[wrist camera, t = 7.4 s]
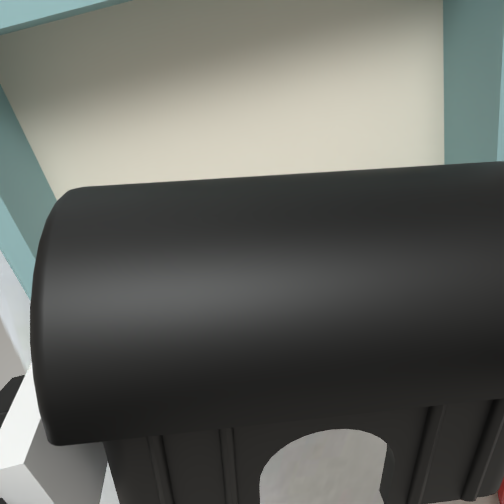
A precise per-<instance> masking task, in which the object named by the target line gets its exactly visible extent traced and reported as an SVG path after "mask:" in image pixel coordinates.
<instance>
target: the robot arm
mask: <svg viewBox="0 0 504 504" xmlns="http://www.w3.org/2000/svg"><path fill="white" fill-rule="evenodd" d="M107 462H108V460H107V456H106V453H105V449H104V446H103V442H94V443H85V444H76V445H67V446H55V445H52V444H50V443H49V442H48V440H47V437H46V434H45V430H44V427H43V423H42V420H41V416H40V413H39V409H38V403H37V397H36V391H35V386H34V380H33V370H32V362H31V364H30V366H29V368H28V371H27V373H26V375H22V376H19V377H14V378H12V379H11V380H10V381H9V382H8V383H7V384H6V385H5V386H4V388H3V389H2V390H1V391H0V504H99V503H100V498H101V492H102V487H103V482H104V477H105V472H106V467H107Z"/></svg>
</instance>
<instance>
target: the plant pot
mask: <svg viewBox="0 0 504 504" xmlns="http://www.w3.org/2000/svg"><path fill="white" fill-rule="evenodd" d="M498 497H499V501H500V504H504V478H503V481H502V483H501V486H500V488H499V490H498Z"/></svg>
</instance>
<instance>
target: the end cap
mask: <svg viewBox="0 0 504 504" xmlns="http://www.w3.org/2000/svg"><path fill="white" fill-rule="evenodd" d="M30 346H31V358H32V370H33V380H34V386H35V391H36V397H37V403H38V409H39V413H40V416H41V420H42V423H43V427H44V430H45V434H46V437H47V440H48V442H49V443H50V444H52V445H55V446H67V445H76V444H85V443H94V442H103V446H104V449H105V453H106V456H107V460H108V463H109V467H110V470H111V474H112V477H113V481H114V484H115V488H116V492H117V495H118V499H119V502H120V504H260V494H259V482H260V475H261V473H262V471H263V468H264V466H265V465H266V464H267V462H268V461H269V459H270V458H271V457H272V456H273V455H274V454H275V453H277V452H278V451H279V450H280V449H281V448H283V447H284V446H286V445H287V444H289V443H290V442H292V441H295V440H297V439H299V438H301V437H303V436H306V435H309V434H312V433H315V432H319V431H325V430H331V429H354V430H361V431H365V432H368V433H372V434H374V435H376V436H378V437H379V438H381V439H382V440H384V441H385V442H386V443H387V452H386V457H385V463H384V468H383V474H382V479H381V484H380V490H379V491H380V493H381V496H382V499H383V501H384V504H428V503H436V502H444V501H452V500H460V499H462V500H464V501H475V500H476V498H477V497H484V496H489V495H492V494H494V493H496V492H497V491H498V490H499V488H500V486H501V483H502V481H503V478H504V161H495V162H478V163H462V164H446V165H430V166H413V167H397V168H381V169H364V170H348V171H332V172H315V173H299V174H283V175H266V176H250V177H234V178H217V179H201V180H185V181H168V182H152V183H136V184H119V185H103V186H87V187H80V188H75V189H71V190H69V191H67V192H66V193H65V194H64V195H63V196H62V197H61V198H59V199H58V200H57V202H56V203H55V204H54V206H53V208H52V210H51V212H50V214H49V215H48V217H47V219H46V222H45V225H44V228H43V231H42V235H41V238H40V241H39V245H38V250H37V255H36V261H35V266H34V272H33V281H32V293H31V304H30Z"/></svg>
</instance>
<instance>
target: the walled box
mask: <svg viewBox="0 0 504 504" xmlns="http://www.w3.org/2000/svg"><path fill="white" fill-rule="evenodd" d="M495 161H504V0H0V250H1V251H2V253H3V255H4V257H5V258H6V260H7V262H8V263H9V265H10V267H11V268H12V270H13V272H14V273H15V275H16V277H17V279H18V280H19V282H20V284H21V285H22V287H23V289H24V290H25V292H26V294H27V295H28V297H29V299H30V300H31V293H32V281H33V272H34V266H35V261H36V255H37V250H38V245H39V241H40V238H41V235H42V231H43V228H44V225H45V222H46V219H47V217H48V215H49V214H50V212H51V210H52V208H53V206H54V204H55V203H56V202H57V200H58V199H59V198H61V197H62V196H63V195H64V194H65V193H66V192H67V191H69V190H71V189H75V188H80V187H87V186H103V185H119V184H136V183H152V182H168V181H185V180H201V179H217V178H234V177H250V176H266V175H283V174H299V173H315V172H332V171H348V170H364V169H381V168H397V167H413V166H430V165H446V164H462V163H478V162H495Z"/></svg>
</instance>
